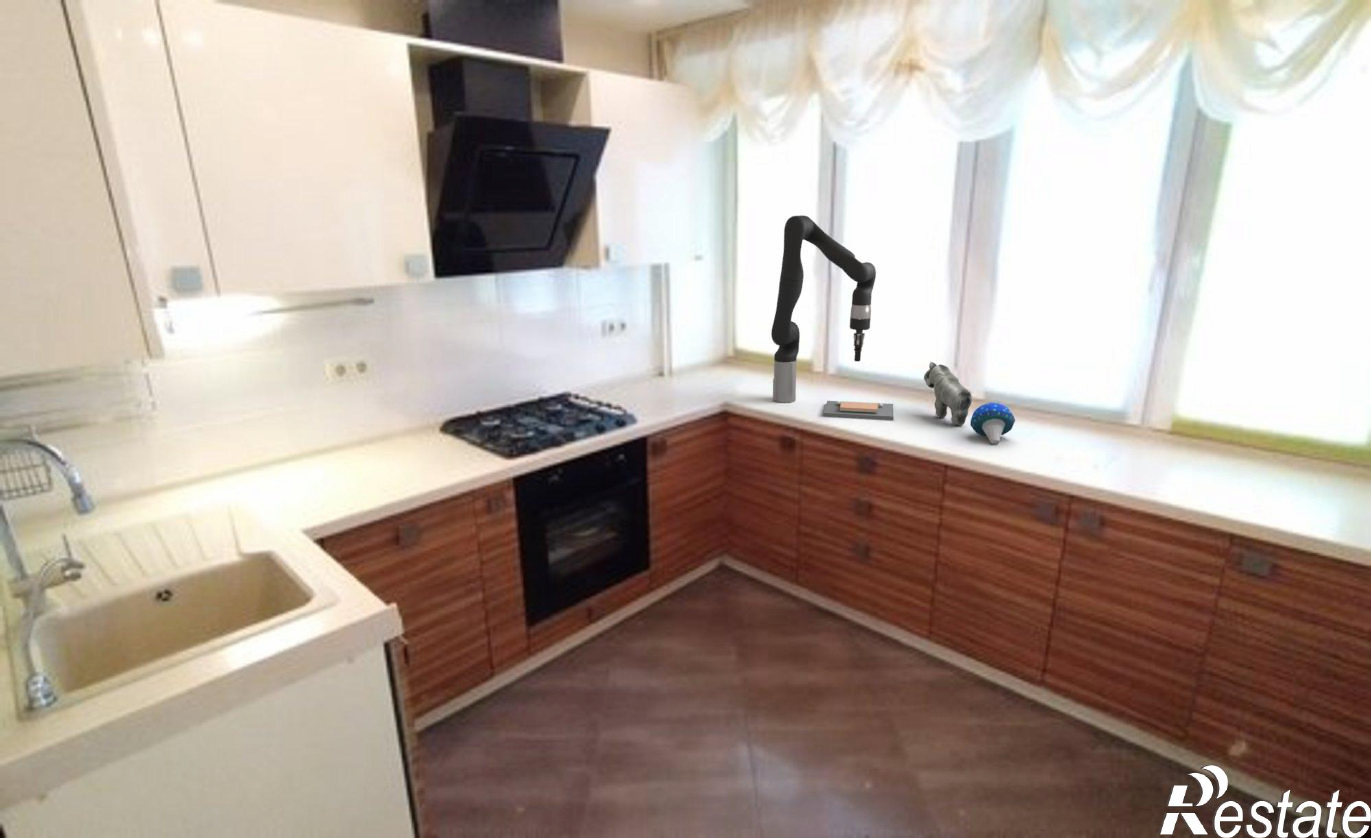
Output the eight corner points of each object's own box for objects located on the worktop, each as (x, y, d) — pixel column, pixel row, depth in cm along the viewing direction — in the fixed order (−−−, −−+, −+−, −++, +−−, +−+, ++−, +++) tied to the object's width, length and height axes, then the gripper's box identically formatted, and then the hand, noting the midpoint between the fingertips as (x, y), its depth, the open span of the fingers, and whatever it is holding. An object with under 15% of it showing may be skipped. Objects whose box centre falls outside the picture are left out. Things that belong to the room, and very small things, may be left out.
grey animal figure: (974, 426, 241) (980, 372, 235) (953, 429, 239) (958, 375, 233) (933, 408, 264) (937, 359, 258) (913, 410, 262) (917, 361, 256)
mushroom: (984, 426, 217) (979, 390, 225) (964, 449, 228) (961, 414, 237) (1026, 434, 216) (1020, 398, 225) (1005, 457, 228) (1000, 422, 237)
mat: (823, 416, 258) (823, 408, 257) (827, 404, 275) (827, 396, 274) (893, 420, 251) (893, 412, 250) (892, 407, 268) (893, 399, 267)
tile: (841, 401, 267) (841, 405, 267) (840, 407, 257) (839, 411, 258) (877, 403, 263) (877, 406, 263) (877, 409, 254) (877, 412, 254)
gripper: (851, 313, 260) (848, 357, 265) (849, 318, 248) (846, 364, 253) (871, 314, 257) (867, 358, 263) (869, 319, 245) (866, 365, 251)
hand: (857, 361), depth 258 cm, fingers closed
